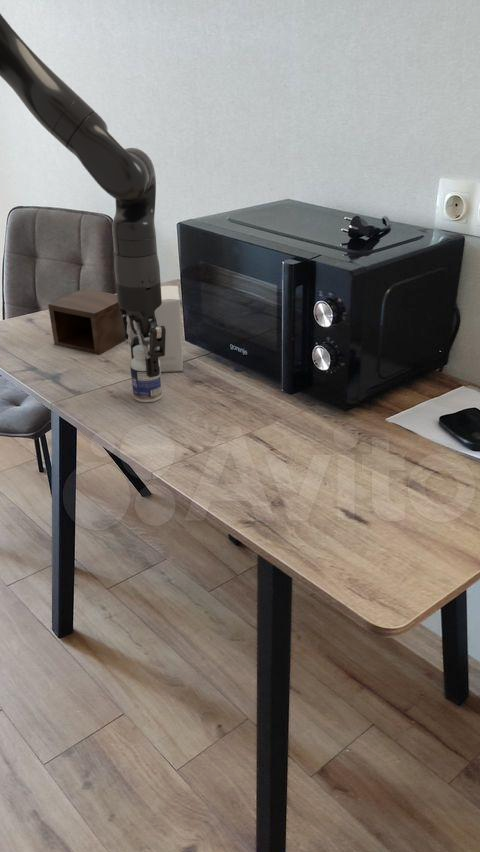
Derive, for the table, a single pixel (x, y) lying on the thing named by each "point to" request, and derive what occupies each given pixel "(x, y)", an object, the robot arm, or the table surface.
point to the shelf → (87, 321)
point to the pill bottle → (144, 378)
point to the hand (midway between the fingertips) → (145, 369)
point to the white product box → (170, 329)
